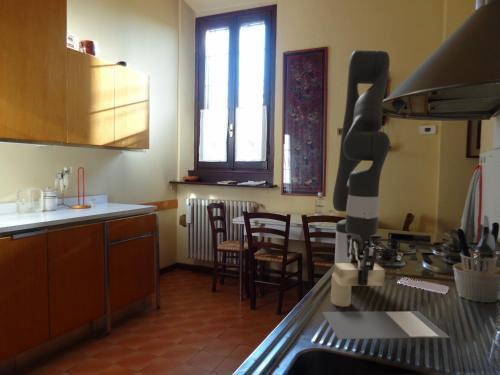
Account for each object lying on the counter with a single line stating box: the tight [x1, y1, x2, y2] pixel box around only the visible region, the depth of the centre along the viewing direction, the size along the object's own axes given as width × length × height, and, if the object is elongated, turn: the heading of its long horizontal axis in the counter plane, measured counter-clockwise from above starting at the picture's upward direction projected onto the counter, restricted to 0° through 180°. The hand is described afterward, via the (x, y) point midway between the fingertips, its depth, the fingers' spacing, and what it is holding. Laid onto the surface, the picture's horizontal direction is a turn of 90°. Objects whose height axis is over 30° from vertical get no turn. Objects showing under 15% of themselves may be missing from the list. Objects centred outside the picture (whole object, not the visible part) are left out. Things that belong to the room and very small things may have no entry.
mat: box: [321, 310, 451, 340], centre depth 89 cm, size 14×27×1 cm, turn 94°
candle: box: [330, 272, 352, 307], centre depth 101 cm, size 6×6×10 cm
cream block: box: [333, 262, 386, 287], centre depth 87 cm, size 11×5×4 cm, turn 94°
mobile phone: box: [396, 276, 450, 295], centre depth 118 cm, size 8×1×15 cm
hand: (358, 280), depth 88 cm, fingers closed on cream block, 5 cm apart
